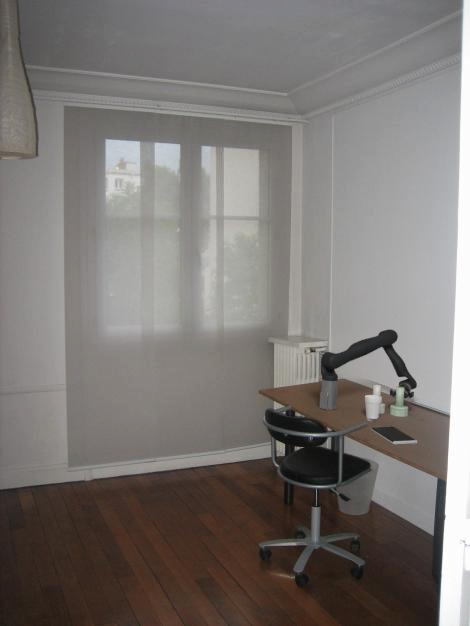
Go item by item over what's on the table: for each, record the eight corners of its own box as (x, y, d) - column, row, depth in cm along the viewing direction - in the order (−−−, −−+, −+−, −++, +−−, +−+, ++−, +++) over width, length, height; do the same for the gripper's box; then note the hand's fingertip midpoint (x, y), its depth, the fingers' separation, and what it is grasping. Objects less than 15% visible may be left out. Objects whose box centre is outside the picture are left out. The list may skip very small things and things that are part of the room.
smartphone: (392, 429, 348) (392, 425, 348) (418, 444, 322) (418, 440, 322) (369, 429, 345) (369, 426, 345) (393, 445, 319) (393, 441, 319)
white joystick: (376, 417, 368) (378, 387, 366) (363, 413, 376) (364, 384, 374) (388, 414, 374) (389, 385, 372) (374, 410, 382) (376, 382, 380)
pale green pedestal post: (400, 420, 363) (401, 390, 361) (386, 416, 371) (387, 386, 369) (411, 417, 369) (413, 388, 367) (397, 413, 377) (399, 384, 375)
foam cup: (368, 416, 369) (370, 394, 368) (383, 419, 363) (385, 396, 362) (360, 419, 362) (361, 396, 360) (375, 423, 356) (377, 399, 354)
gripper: (391, 382, 384) (386, 388, 369) (416, 385, 379) (412, 391, 363) (390, 395, 385) (386, 401, 370) (415, 397, 380) (411, 404, 364)
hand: (399, 396), depth 367 cm, fingers open, 5 cm apart
